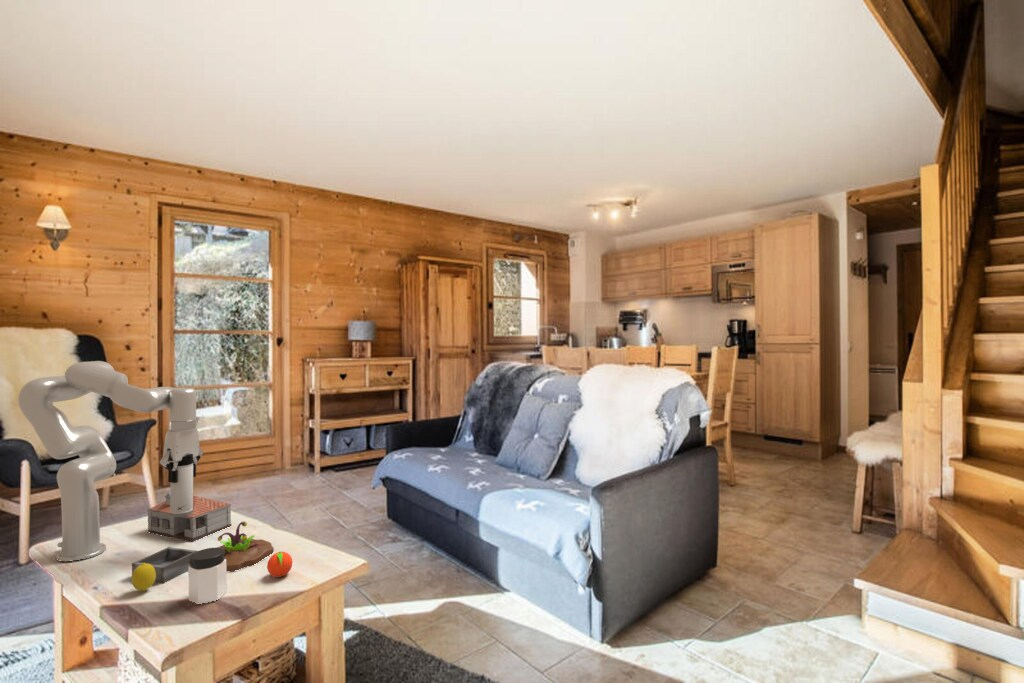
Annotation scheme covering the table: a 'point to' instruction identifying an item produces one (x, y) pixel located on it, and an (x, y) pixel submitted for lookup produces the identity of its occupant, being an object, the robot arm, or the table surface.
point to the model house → (190, 519)
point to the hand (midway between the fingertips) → (182, 479)
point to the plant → (243, 550)
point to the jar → (207, 575)
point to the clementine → (279, 564)
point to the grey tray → (167, 563)
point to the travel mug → (183, 489)
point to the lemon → (143, 577)
